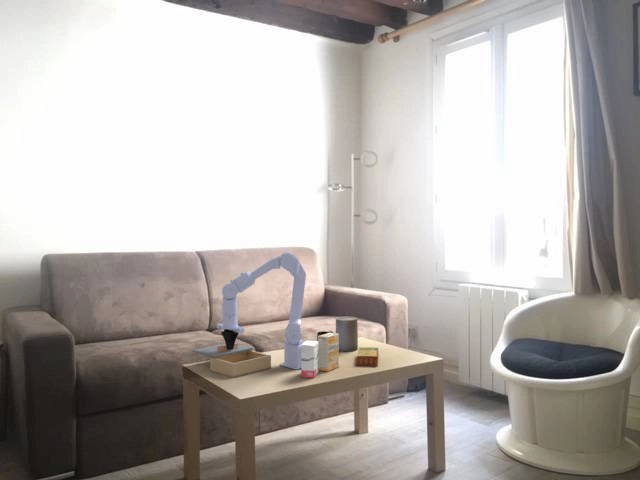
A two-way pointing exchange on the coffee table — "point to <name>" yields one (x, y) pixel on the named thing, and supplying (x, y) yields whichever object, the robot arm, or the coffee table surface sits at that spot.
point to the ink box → (309, 359)
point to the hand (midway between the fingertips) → (230, 349)
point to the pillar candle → (347, 333)
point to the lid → (221, 350)
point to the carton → (367, 357)
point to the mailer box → (240, 363)
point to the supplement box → (328, 351)
